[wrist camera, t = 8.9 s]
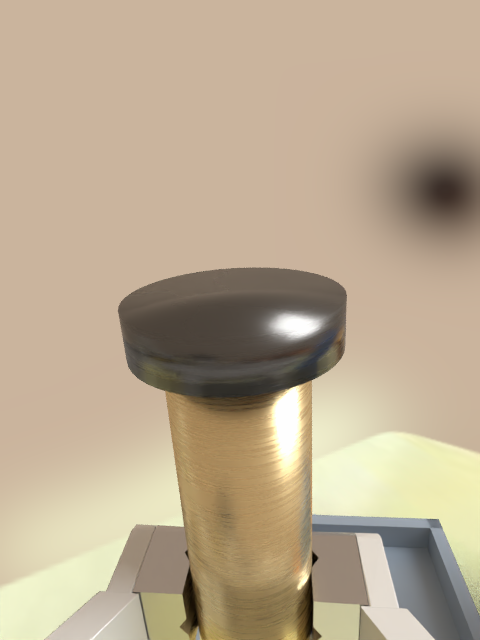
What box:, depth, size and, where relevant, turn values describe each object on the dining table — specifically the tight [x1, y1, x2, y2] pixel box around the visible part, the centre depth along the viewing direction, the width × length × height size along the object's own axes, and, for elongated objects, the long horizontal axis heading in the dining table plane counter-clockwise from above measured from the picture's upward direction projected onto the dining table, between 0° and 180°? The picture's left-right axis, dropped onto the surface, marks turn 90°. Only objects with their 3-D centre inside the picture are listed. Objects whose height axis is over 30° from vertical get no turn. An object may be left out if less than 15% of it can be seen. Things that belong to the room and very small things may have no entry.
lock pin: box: [118, 268, 347, 640], centre depth 9 cm, size 3×3×16 cm
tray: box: [196, 515, 480, 640], centre depth 26 cm, size 16×10×2 cm, turn 84°
